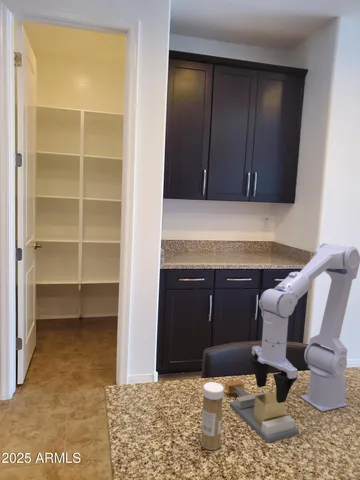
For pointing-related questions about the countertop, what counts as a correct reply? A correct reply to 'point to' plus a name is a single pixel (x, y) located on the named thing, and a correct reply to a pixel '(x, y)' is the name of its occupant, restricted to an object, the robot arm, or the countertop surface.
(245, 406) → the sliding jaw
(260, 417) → the brass block
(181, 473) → the countertop surface
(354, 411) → the countertop surface
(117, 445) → the countertop surface
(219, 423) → the sprinkles bottle
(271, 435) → the vise base
